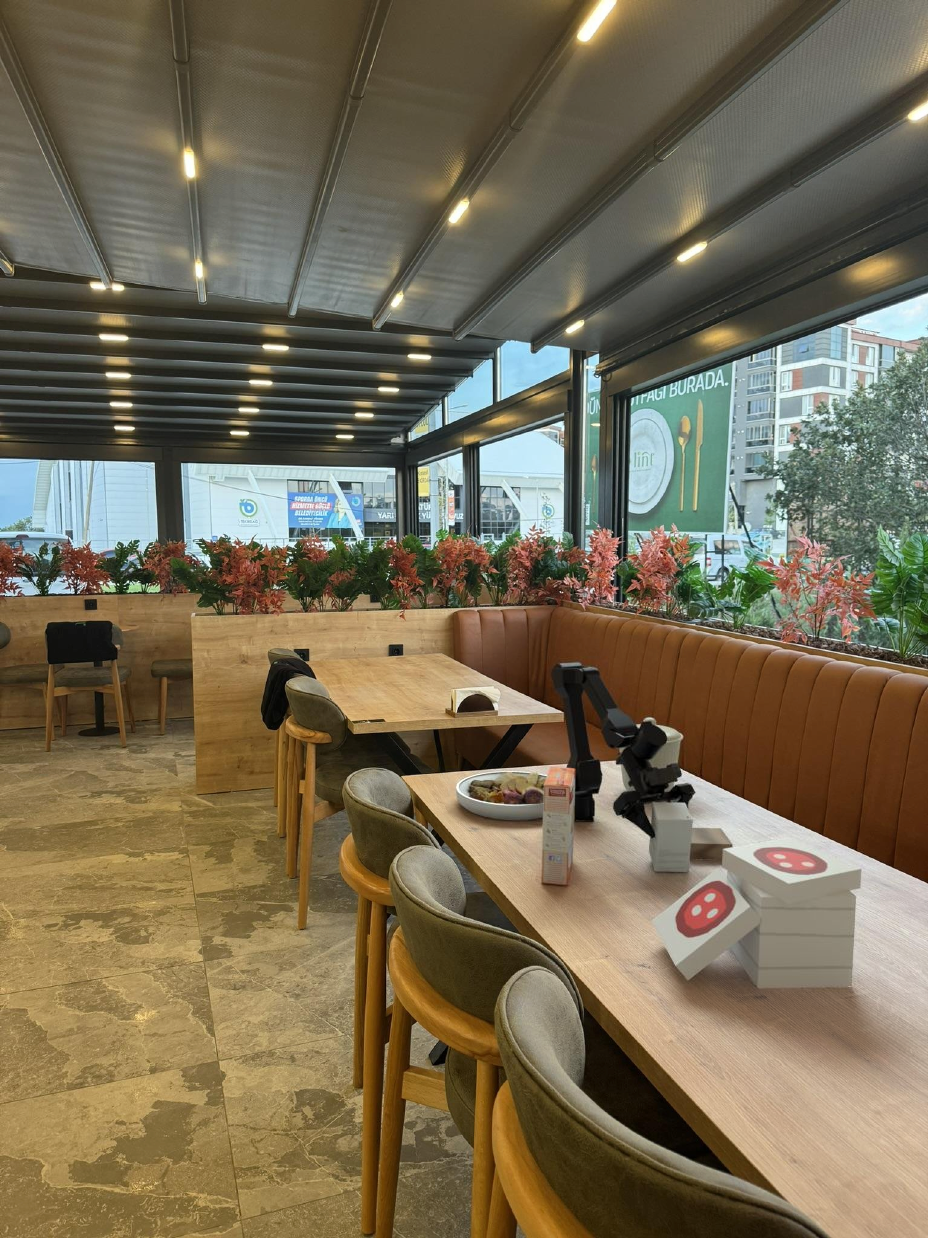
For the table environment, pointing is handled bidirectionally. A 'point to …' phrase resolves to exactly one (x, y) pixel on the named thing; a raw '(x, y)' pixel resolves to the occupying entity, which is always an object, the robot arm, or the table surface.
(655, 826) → the supplement box
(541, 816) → the bowl
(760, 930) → the pizza boxes
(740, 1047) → the table surface
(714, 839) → the walnut riser block
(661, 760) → the canister
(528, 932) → the table surface
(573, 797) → the cracker box
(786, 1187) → the table surface
